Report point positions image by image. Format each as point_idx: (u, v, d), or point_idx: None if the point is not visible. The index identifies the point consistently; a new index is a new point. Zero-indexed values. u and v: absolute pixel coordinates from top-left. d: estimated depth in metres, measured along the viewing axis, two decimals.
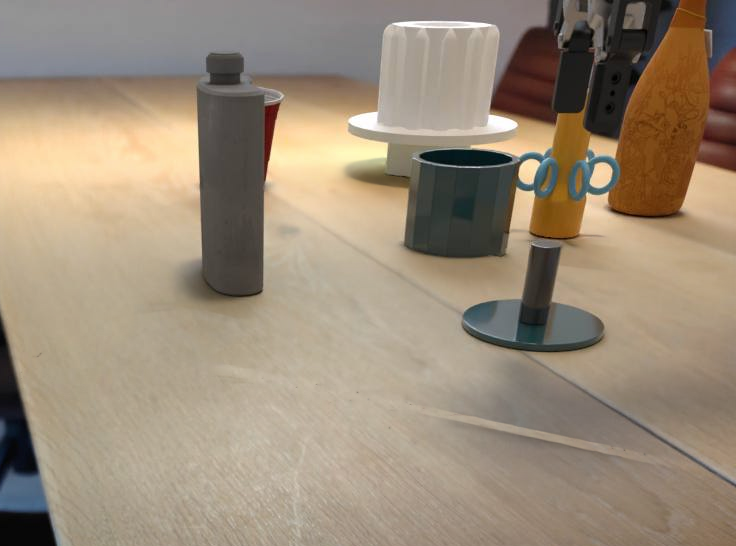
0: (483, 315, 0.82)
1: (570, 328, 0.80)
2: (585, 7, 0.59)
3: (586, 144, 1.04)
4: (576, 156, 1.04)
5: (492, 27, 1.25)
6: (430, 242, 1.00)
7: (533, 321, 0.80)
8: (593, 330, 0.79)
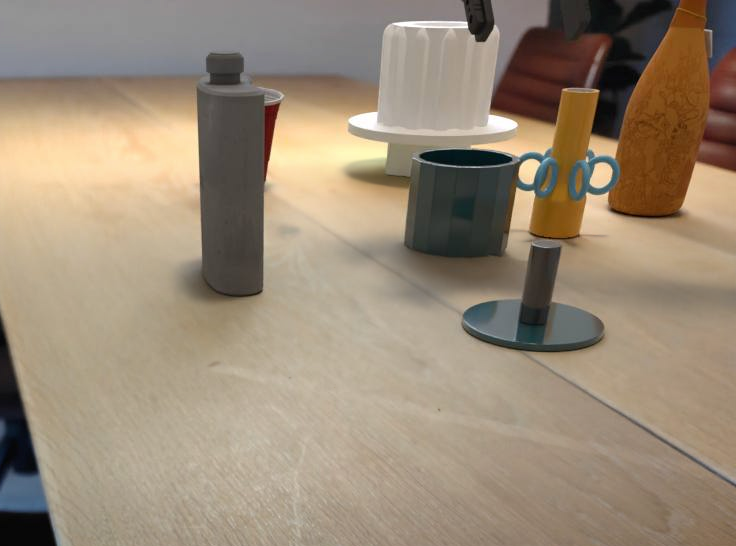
0: (483, 315, 0.82)
1: (570, 328, 0.80)
2: None
3: (586, 144, 1.04)
4: (576, 156, 1.04)
5: None
6: (430, 242, 1.00)
7: (533, 321, 0.80)
8: (593, 330, 0.79)
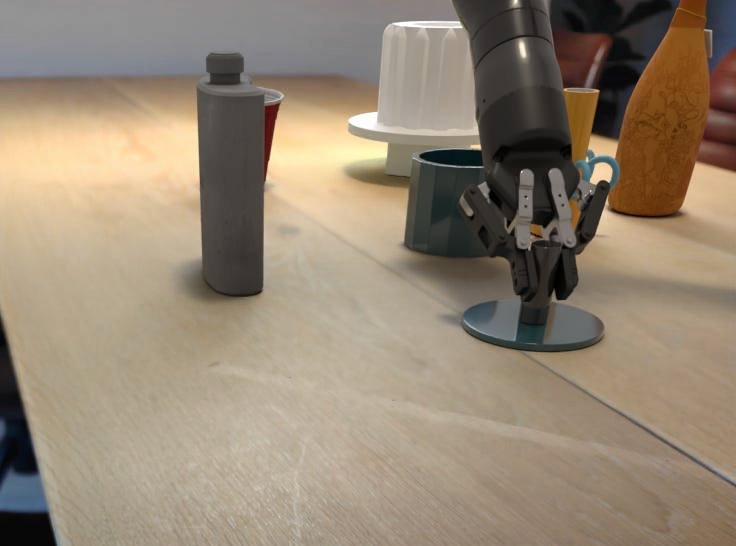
0: (483, 315, 0.82)
1: (570, 328, 0.80)
2: None
3: (586, 144, 1.04)
4: (576, 156, 1.04)
5: None
6: (430, 242, 1.00)
7: (533, 321, 0.80)
8: (593, 330, 0.79)
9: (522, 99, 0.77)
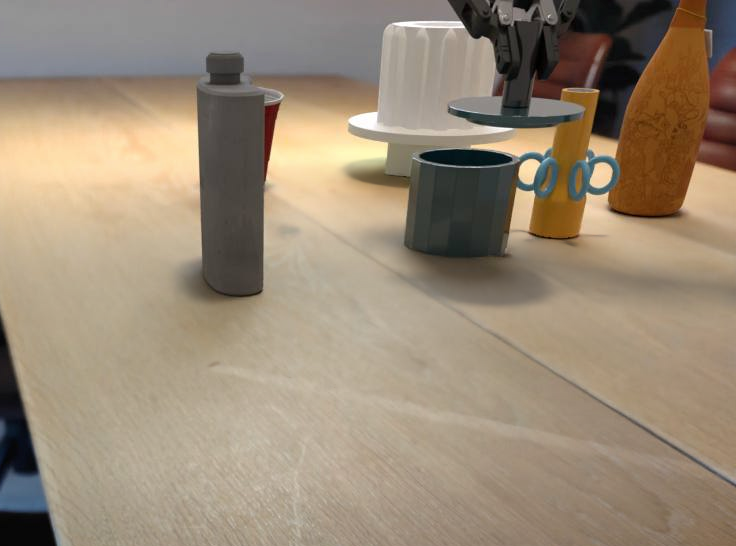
0: (467, 103, 0.84)
1: (552, 109, 0.81)
2: None
3: (586, 144, 1.04)
4: (576, 156, 1.04)
5: None
6: (430, 242, 1.00)
7: (516, 103, 0.82)
8: (574, 110, 0.81)
9: None
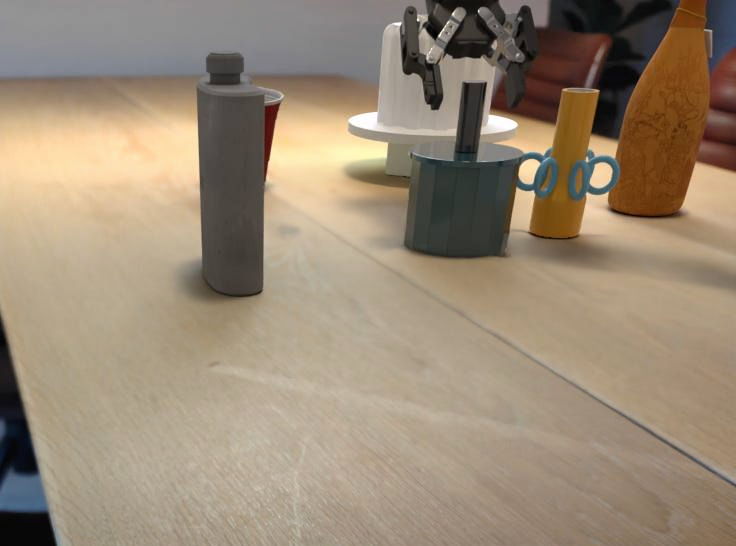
0: (426, 148, 1.00)
1: (495, 154, 0.97)
2: None
3: (586, 144, 1.04)
4: (576, 156, 1.04)
5: None
6: (430, 242, 1.00)
7: (465, 149, 0.98)
8: (514, 155, 0.97)
9: None
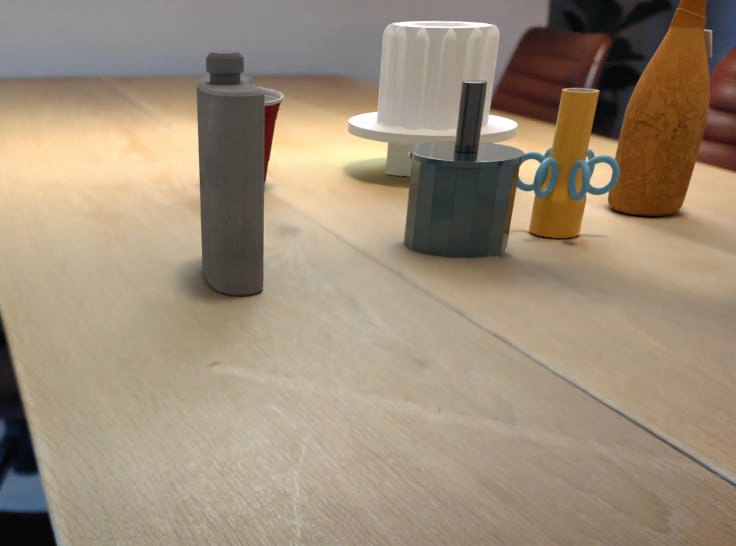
0: (426, 148, 1.00)
1: (495, 154, 0.97)
2: None
3: (586, 144, 1.04)
4: (576, 156, 1.04)
5: (492, 27, 1.25)
6: (430, 242, 1.00)
7: (465, 149, 0.98)
8: (514, 155, 0.97)
9: None
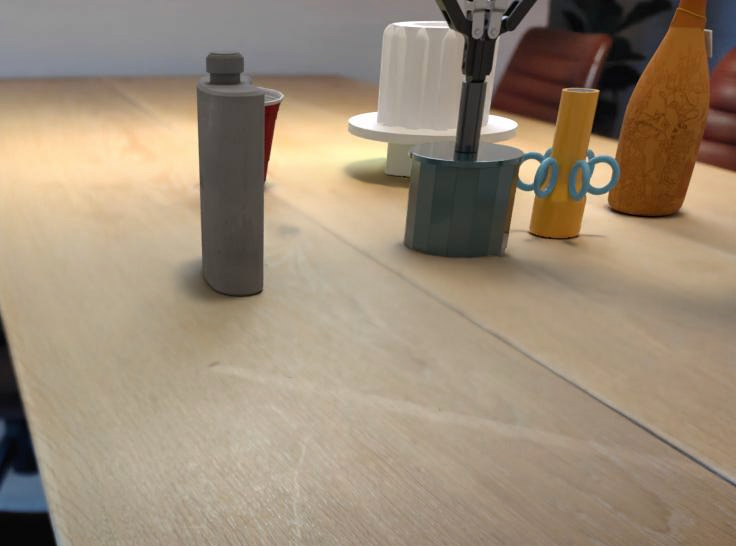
0: (426, 148, 1.00)
1: (495, 154, 0.97)
2: None
3: (586, 144, 1.04)
4: (576, 156, 1.04)
5: None
6: (430, 242, 1.00)
7: (465, 149, 0.98)
8: (514, 155, 0.97)
9: None
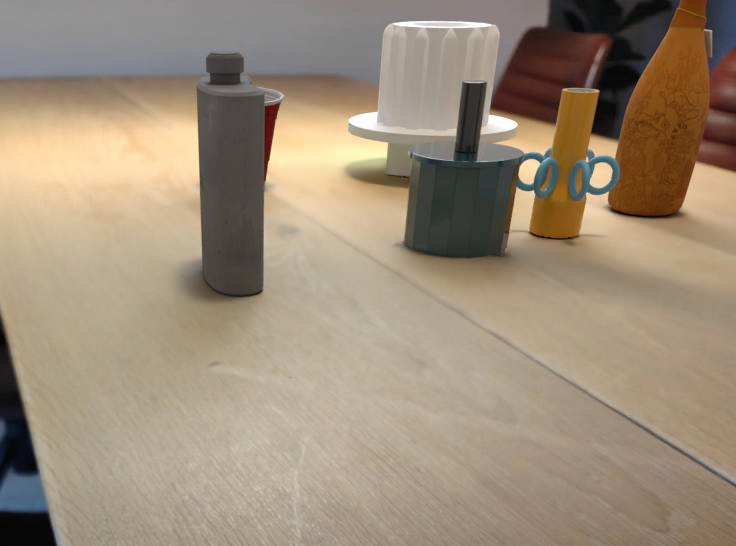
0: (426, 148, 1.00)
1: (495, 154, 0.97)
2: None
3: (586, 144, 1.04)
4: (576, 156, 1.04)
5: (492, 27, 1.25)
6: (430, 242, 1.00)
7: (465, 149, 0.98)
8: (514, 155, 0.97)
9: None
